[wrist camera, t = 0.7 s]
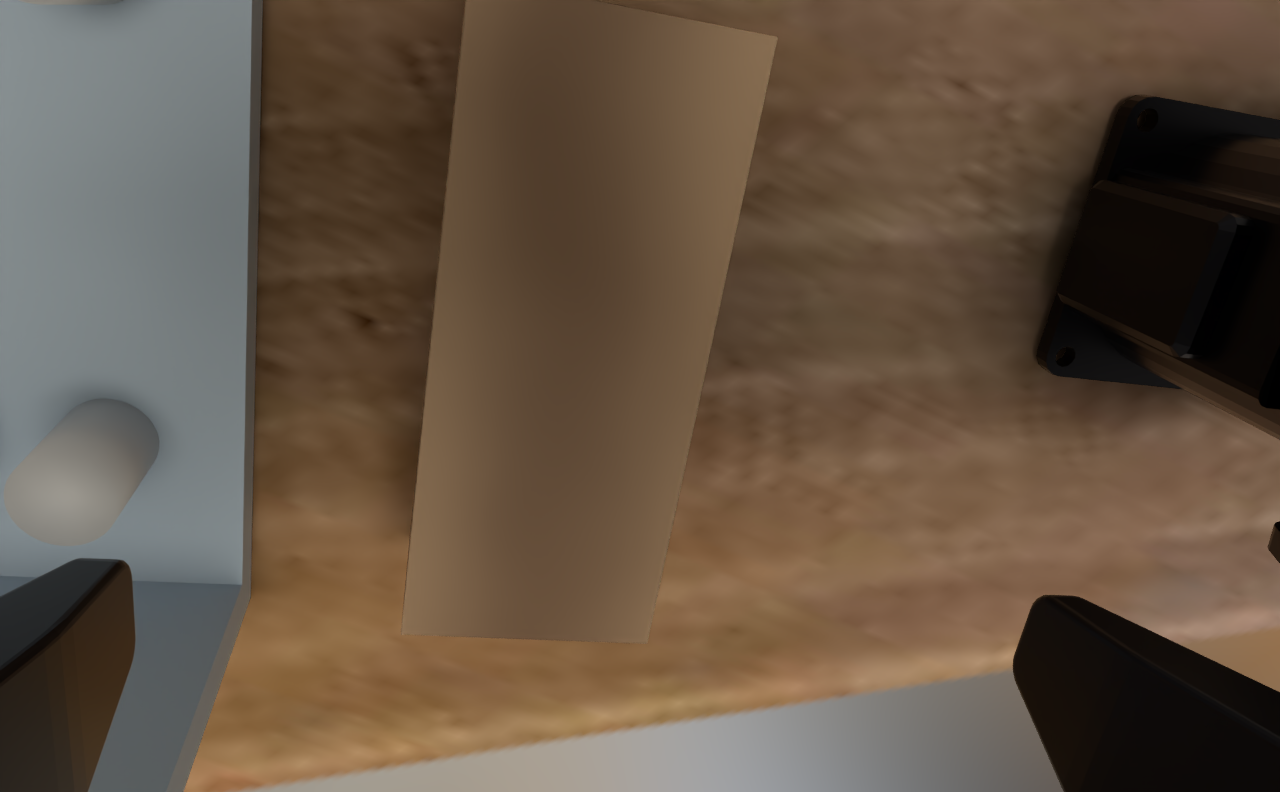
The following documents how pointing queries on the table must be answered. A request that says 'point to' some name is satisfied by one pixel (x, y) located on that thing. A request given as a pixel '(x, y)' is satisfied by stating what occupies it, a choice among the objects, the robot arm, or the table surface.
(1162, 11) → the table surface
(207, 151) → the peg rack
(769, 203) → the table surface
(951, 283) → the table surface
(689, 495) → the table surface
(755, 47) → the shelf block
